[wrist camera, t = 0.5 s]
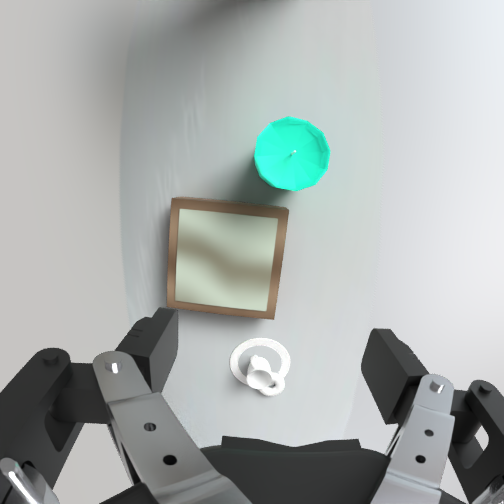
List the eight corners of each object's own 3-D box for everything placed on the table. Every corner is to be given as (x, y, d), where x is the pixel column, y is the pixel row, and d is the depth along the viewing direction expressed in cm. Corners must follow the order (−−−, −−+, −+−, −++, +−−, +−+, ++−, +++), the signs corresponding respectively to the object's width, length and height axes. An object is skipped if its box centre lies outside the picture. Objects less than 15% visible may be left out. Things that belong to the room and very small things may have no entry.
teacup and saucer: (286, 389, 40) (289, 407, 36) (230, 388, 40) (228, 406, 36) (292, 336, 38) (295, 353, 34) (229, 335, 38) (227, 351, 34)
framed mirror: (179, 196, 34) (171, 198, 30) (285, 207, 34) (289, 210, 30) (174, 295, 37) (166, 307, 33) (272, 307, 37) (274, 320, 33)
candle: (318, 169, 33) (350, 163, 21) (275, 199, 34) (285, 208, 22) (287, 125, 32) (303, 97, 20) (243, 155, 33) (237, 141, 21)
